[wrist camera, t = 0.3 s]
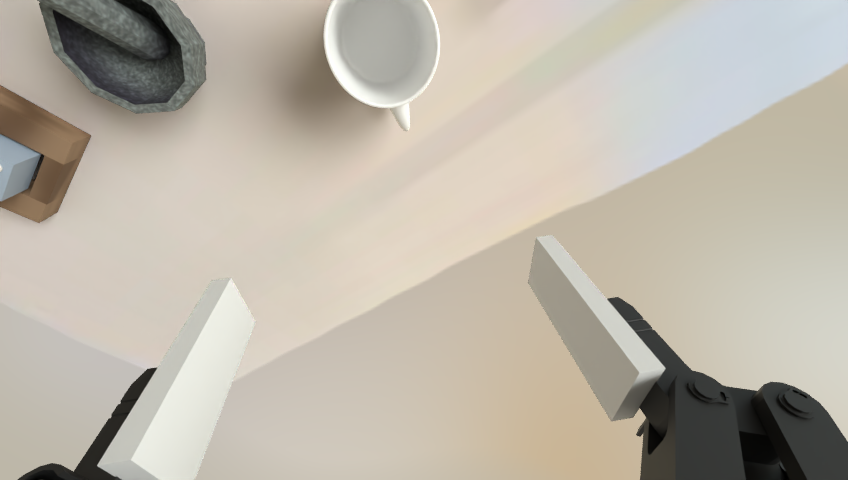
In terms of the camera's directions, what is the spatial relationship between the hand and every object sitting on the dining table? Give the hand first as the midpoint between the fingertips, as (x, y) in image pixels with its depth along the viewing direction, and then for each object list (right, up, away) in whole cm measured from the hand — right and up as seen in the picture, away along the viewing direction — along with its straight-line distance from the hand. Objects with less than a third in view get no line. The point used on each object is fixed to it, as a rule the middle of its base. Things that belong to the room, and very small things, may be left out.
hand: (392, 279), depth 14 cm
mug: (-3, +21, +19) cm, 29 cm away
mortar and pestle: (-23, +21, +16) cm, 35 cm away
